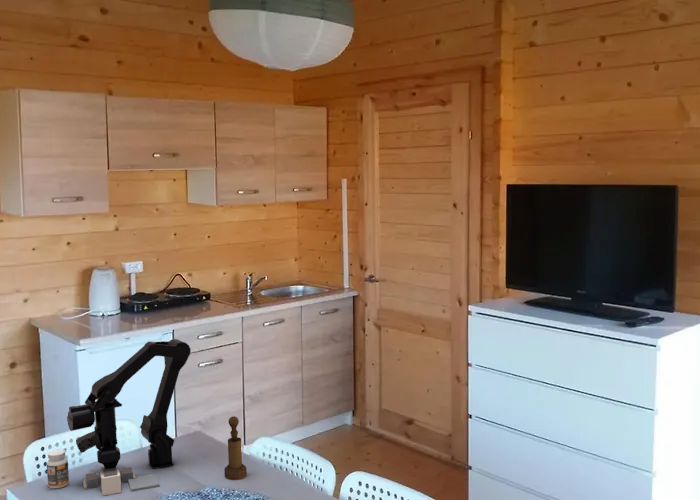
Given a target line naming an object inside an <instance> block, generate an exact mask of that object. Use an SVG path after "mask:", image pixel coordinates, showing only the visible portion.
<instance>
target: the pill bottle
mask: <svg viewBox="0 0 700 500" xmlns="http://www.w3.org/2000/svg"><path fill="white" fill-rule="evenodd" d="M47 458H48V460H47V462H46V473H47V474H46V476H47V486H48V488H51V489H61V488H64V487H66V486H67V485H68V484H69V482H70V480H69V479H70V478H69V476H70V474H69V461H68V458H67V457H66V450H65V449H55V450H51V451H49V452H48V453H47Z"/></svg>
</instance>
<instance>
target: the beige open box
mask: <svg viewBox="0 0 700 500" xmlns="http://www.w3.org/2000/svg"><path fill="white" fill-rule="evenodd" d="M119 469H120V468H119V467H116V468H110V469H105V468H104V469H102V470H100V488H101V493H102V496H108V495H113V494H120V493H122V484H121V481H122V480H121V471H120V470H119Z"/></svg>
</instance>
